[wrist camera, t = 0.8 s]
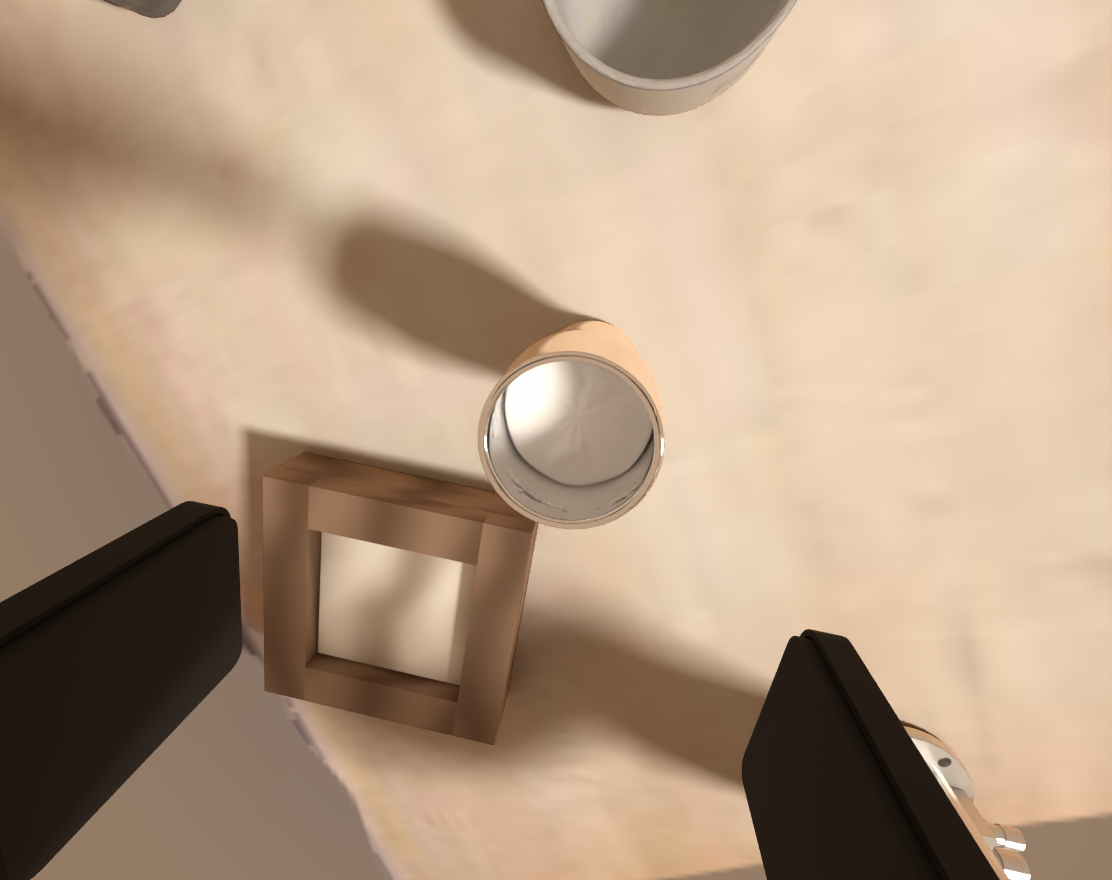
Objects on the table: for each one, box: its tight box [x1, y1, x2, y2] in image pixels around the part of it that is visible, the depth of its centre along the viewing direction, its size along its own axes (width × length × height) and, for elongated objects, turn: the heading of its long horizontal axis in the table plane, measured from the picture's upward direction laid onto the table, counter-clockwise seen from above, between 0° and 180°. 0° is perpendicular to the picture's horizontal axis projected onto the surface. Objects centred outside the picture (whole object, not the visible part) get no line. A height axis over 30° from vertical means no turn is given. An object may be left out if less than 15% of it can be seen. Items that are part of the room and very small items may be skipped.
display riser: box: [263, 452, 538, 745], centre depth 36 cm, size 17×17×4 cm
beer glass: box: [478, 320, 664, 529], centre depth 25 cm, size 7×7×15 cm
